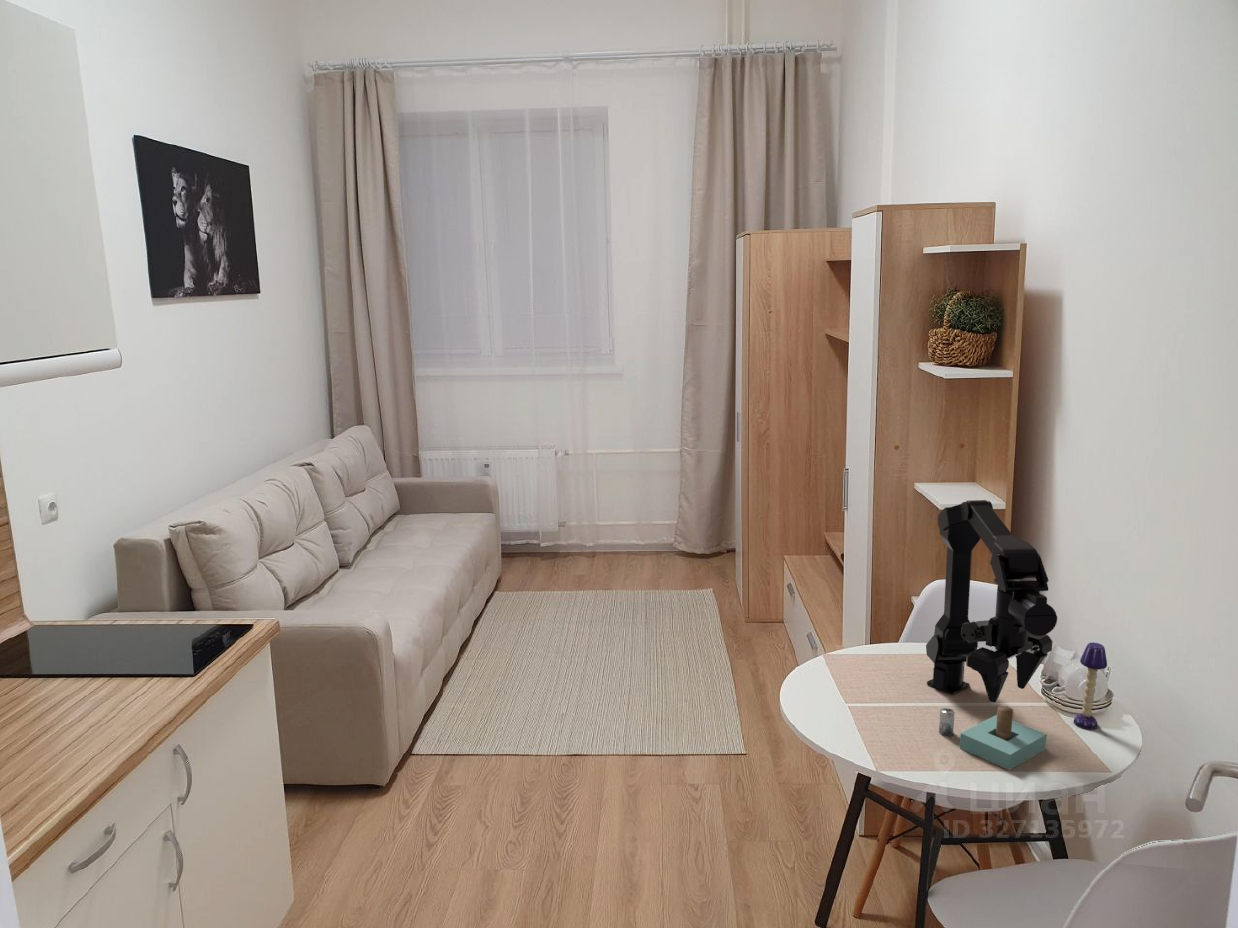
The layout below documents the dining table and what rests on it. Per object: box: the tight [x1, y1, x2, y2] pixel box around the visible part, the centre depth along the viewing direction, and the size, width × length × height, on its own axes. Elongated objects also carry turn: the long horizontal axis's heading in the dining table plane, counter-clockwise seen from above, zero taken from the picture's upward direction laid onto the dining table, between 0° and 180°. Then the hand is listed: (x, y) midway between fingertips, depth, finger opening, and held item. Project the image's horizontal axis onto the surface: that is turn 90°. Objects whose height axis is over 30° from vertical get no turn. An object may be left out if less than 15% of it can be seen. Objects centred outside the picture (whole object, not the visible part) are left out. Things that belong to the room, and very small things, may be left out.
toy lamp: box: [1073, 641, 1108, 730], centre depth 181 cm, size 5×5×17 cm
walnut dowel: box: [996, 705, 1014, 741], centre depth 173 cm, size 3×3×8 cm
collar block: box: [959, 714, 1048, 771], centre depth 174 cm, size 12×10×3 cm
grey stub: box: [938, 707, 955, 737], centre depth 180 cm, size 3×3×4 cm
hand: (1006, 694), depth 172 cm, fingers open, 9 cm apart
